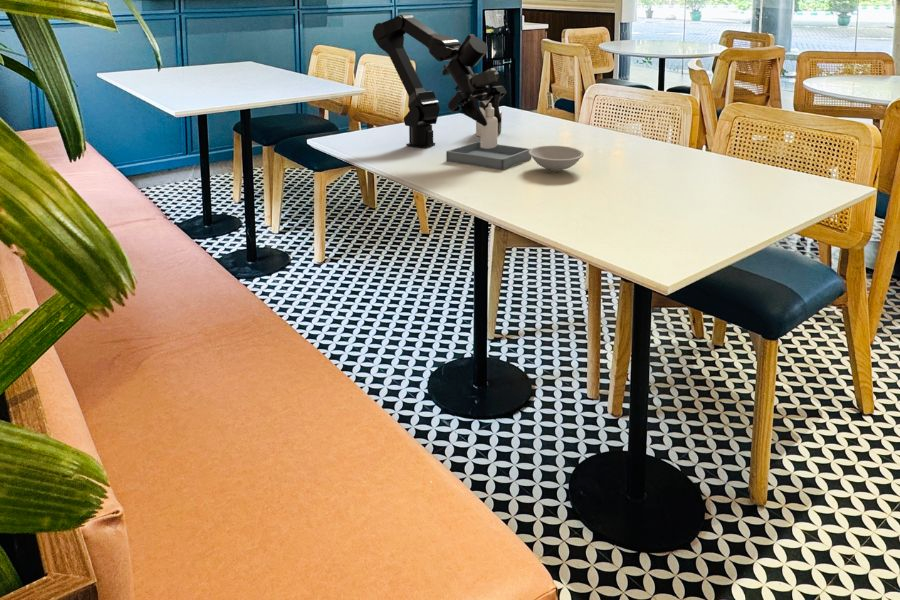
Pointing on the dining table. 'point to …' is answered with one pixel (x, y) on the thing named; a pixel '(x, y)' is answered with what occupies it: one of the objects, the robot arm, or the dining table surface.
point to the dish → (556, 156)
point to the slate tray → (488, 156)
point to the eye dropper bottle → (489, 129)
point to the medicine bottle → (478, 125)
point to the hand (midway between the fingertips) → (493, 123)
